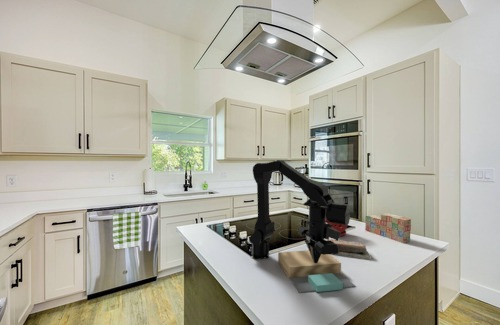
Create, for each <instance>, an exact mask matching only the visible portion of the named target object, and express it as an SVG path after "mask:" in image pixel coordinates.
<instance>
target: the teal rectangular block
mask: <svg viewBox="0 0 500 325" xmlns="http://www.w3.org/2000/svg"><path fill="white" fill-rule="evenodd" d="M308 282H309V283H310V284H311V286H312V287H313V288H314V289H315V291H314V292H316V293H321V292H330V291H339V290H343V289H344V288H343V283H342V282H341V281H340V280H339V279H338V278H337V277H336V276H335V275H333V274H332V273H329V274H318V275H308Z"/></svg>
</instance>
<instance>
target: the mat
mask: <svg viewBox="0 0 500 325" xmlns="http://www.w3.org/2000/svg"><path fill="white" fill-rule="evenodd" d="M333 275H335V276H336V277H337V278H338V279H339V280H340V281H341V282H342V283H343V289H349V288H355V287H356V284H354V283H353V282H352V281H351V280H350V279H349V278H347V277H346V276H345V275H344V274H342V272H341V273H336V274H333ZM288 279H289V280H290V282H291V283H292V285H293V286H294V288H295V289H296V290H297V293H299V294H301V293H310V292H311V293H312V292H316V291H315V289H314V288H313V287H312V286H311V284H310V283H309V282H308V276H304V277H293V278H289V277H288Z"/></svg>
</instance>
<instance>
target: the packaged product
mask: <svg viewBox="0 0 500 325" xmlns="http://www.w3.org/2000/svg"><path fill="white" fill-rule="evenodd" d="M330 240H331V241H332V242H334V243H335V244H337V246H338V247H339V253H338V254H333V255H335V256H336V255H337V256H341V257H349V258H354V259H363V260H368V261H369V260H371V255H370V254H369V252H368V250H367V247H366V245H365V244H363V243H360V242H352V241H346V240H338V241H336V240H335V239H333V238H329V239H326V241H330Z"/></svg>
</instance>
